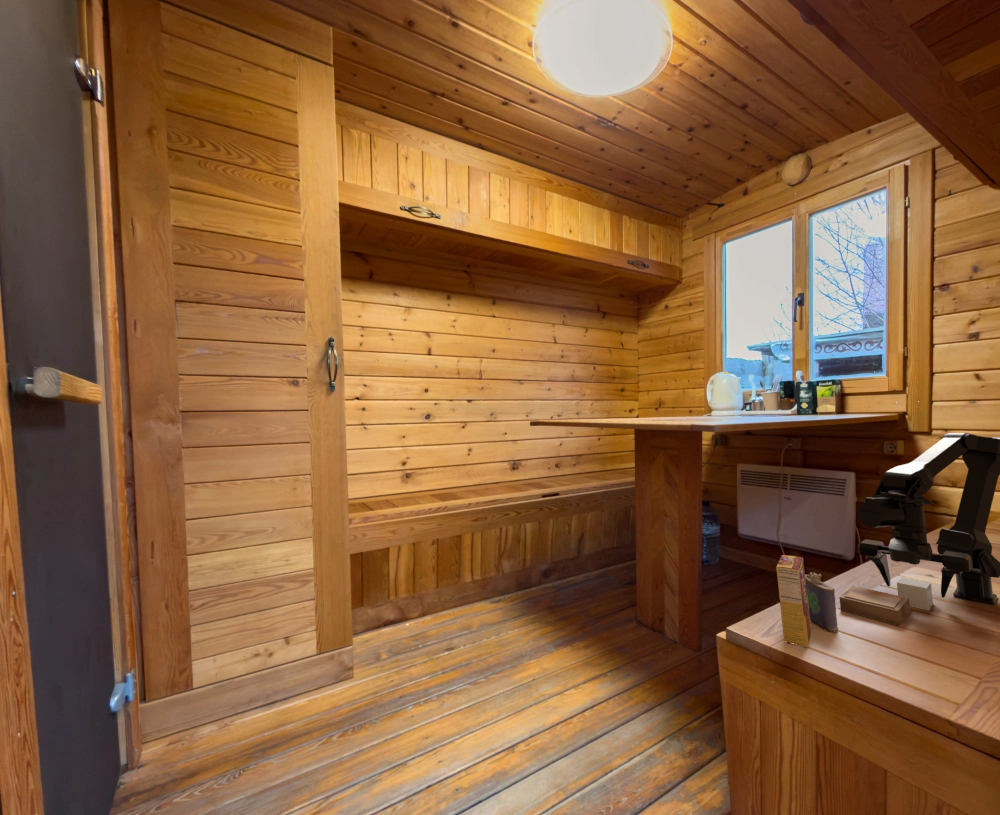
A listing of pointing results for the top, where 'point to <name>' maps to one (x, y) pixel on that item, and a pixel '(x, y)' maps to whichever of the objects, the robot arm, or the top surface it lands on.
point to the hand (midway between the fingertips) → (915, 591)
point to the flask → (821, 603)
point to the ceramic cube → (916, 592)
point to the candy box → (793, 600)
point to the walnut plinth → (875, 605)
